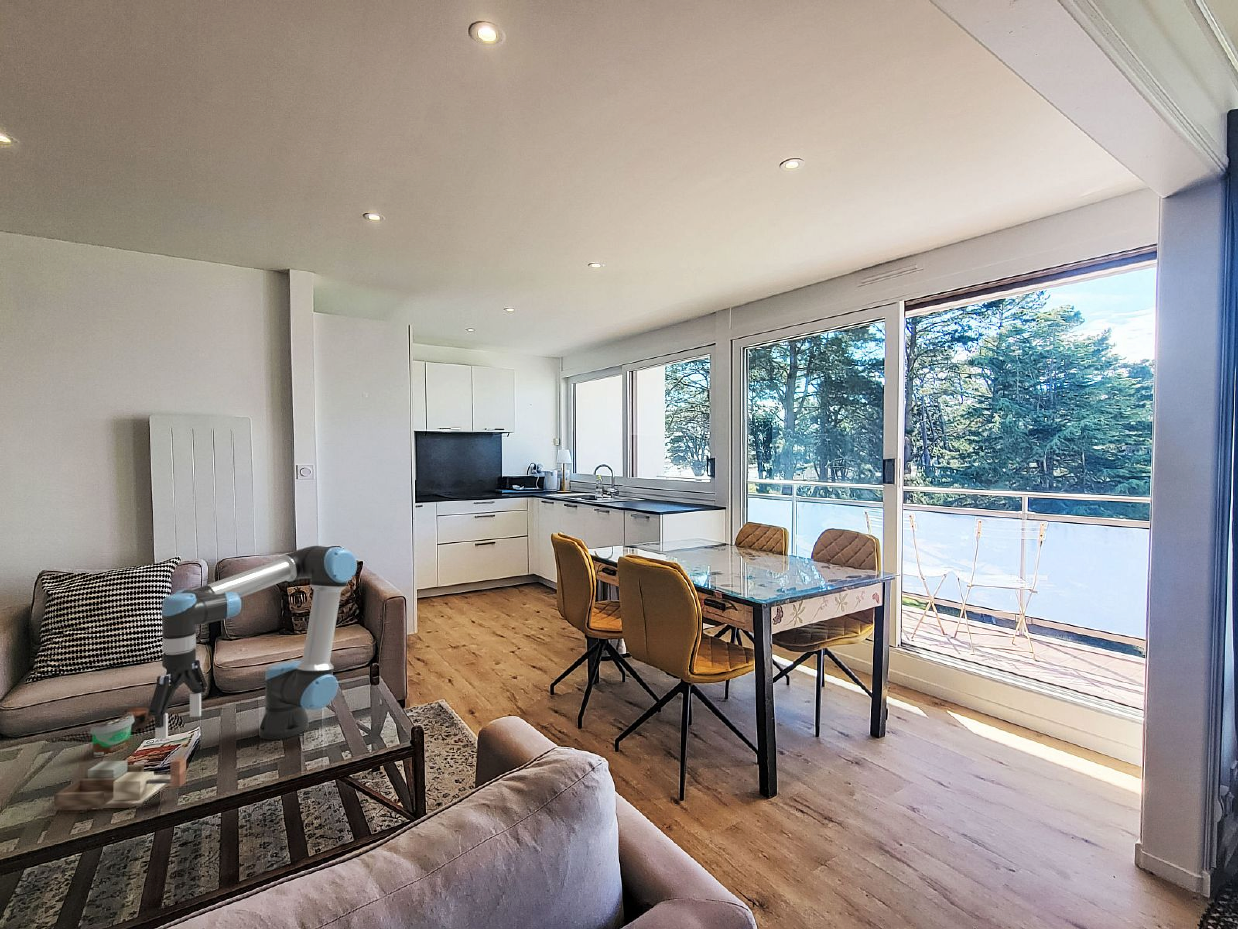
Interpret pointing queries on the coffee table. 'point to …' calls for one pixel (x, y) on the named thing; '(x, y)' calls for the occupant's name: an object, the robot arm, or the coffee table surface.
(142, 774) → the pull block
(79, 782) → the lane rack
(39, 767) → the coffee table surface
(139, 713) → the pottery mug
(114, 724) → the food container
